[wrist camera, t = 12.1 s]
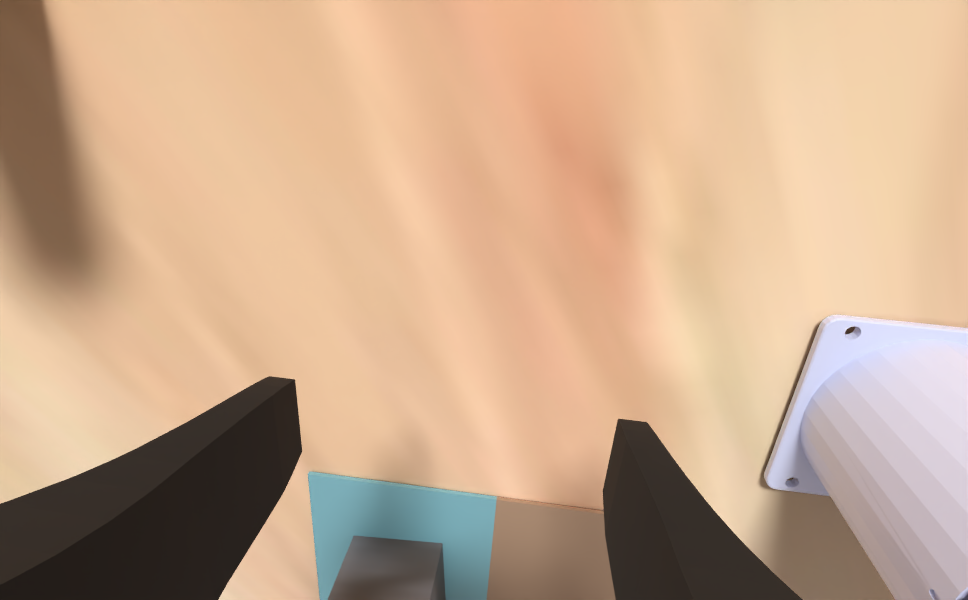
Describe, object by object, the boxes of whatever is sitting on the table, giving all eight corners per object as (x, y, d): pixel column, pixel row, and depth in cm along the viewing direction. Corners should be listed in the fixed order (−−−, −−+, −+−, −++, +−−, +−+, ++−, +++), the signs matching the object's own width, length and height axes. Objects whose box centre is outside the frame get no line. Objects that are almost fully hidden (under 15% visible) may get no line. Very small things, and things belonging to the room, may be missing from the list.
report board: (694, 523, 24) (695, 526, 24) (644, 682, 29) (644, 686, 29) (309, 471, 26) (307, 474, 26) (324, 632, 31) (323, 636, 31)
